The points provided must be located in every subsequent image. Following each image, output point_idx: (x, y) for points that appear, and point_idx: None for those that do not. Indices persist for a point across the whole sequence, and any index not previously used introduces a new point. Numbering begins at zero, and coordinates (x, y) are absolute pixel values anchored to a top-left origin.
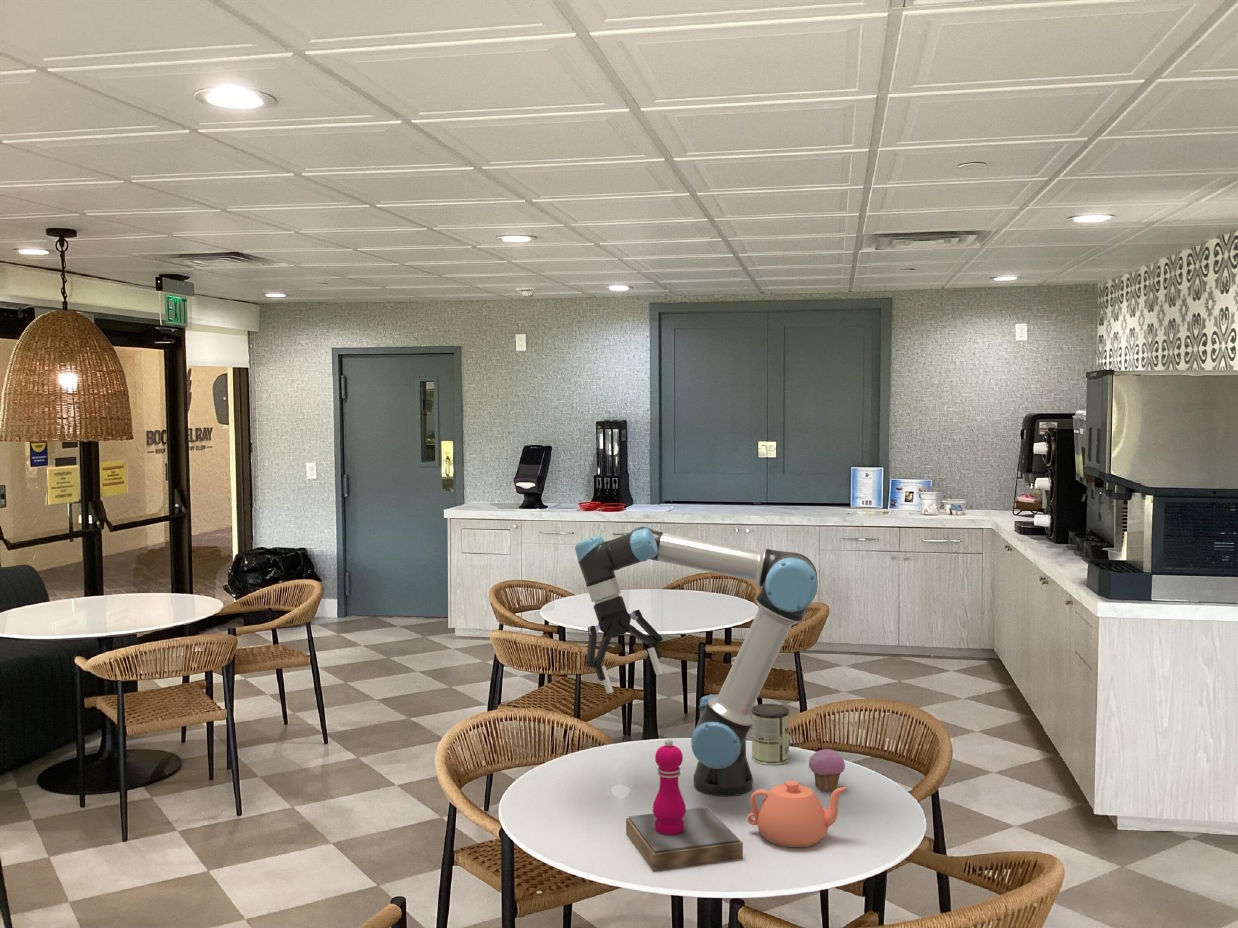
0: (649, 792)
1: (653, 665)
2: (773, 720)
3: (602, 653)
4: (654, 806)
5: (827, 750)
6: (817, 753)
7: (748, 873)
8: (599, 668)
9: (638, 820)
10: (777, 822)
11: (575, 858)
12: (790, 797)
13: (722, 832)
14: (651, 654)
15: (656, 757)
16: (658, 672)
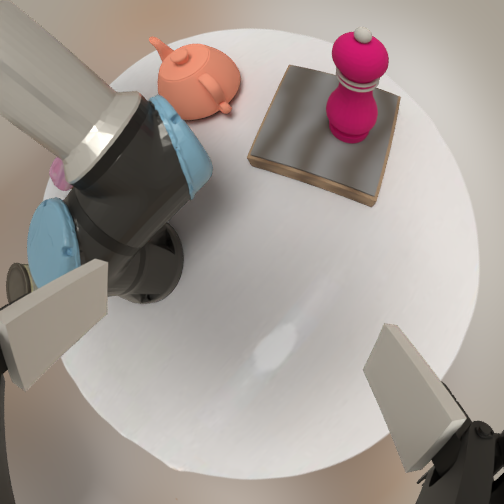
0: (243, 312)
1: (83, 327)
2: (28, 269)
3: (476, 496)
4: (377, 114)
5: (55, 164)
6: (62, 168)
7: (308, 56)
8: (462, 425)
9: (370, 174)
10: (231, 61)
11: (457, 188)
12: (202, 47)
13: (293, 85)
14: (41, 337)
15: (388, 61)
16: (104, 278)
